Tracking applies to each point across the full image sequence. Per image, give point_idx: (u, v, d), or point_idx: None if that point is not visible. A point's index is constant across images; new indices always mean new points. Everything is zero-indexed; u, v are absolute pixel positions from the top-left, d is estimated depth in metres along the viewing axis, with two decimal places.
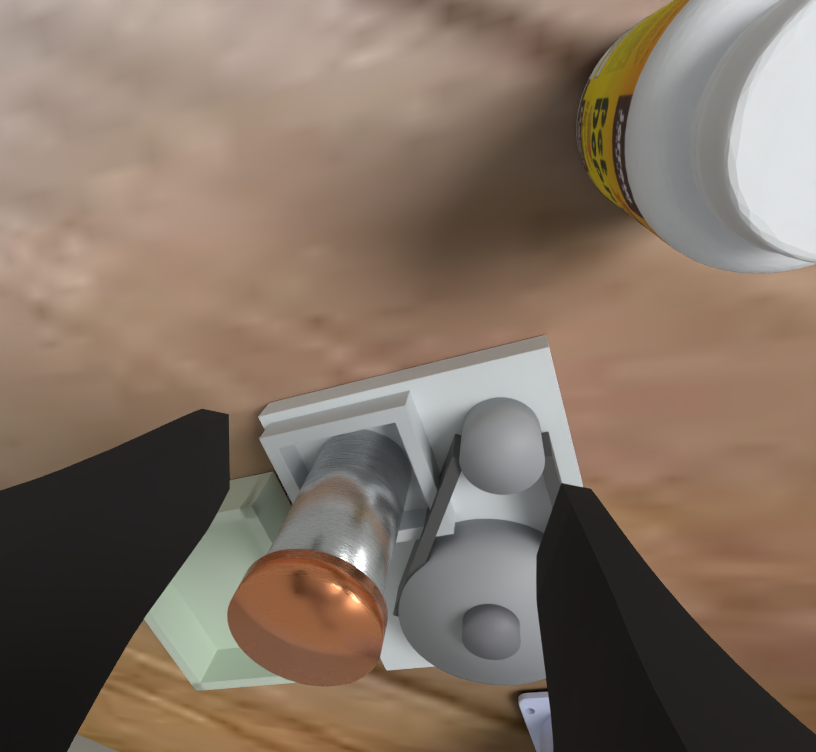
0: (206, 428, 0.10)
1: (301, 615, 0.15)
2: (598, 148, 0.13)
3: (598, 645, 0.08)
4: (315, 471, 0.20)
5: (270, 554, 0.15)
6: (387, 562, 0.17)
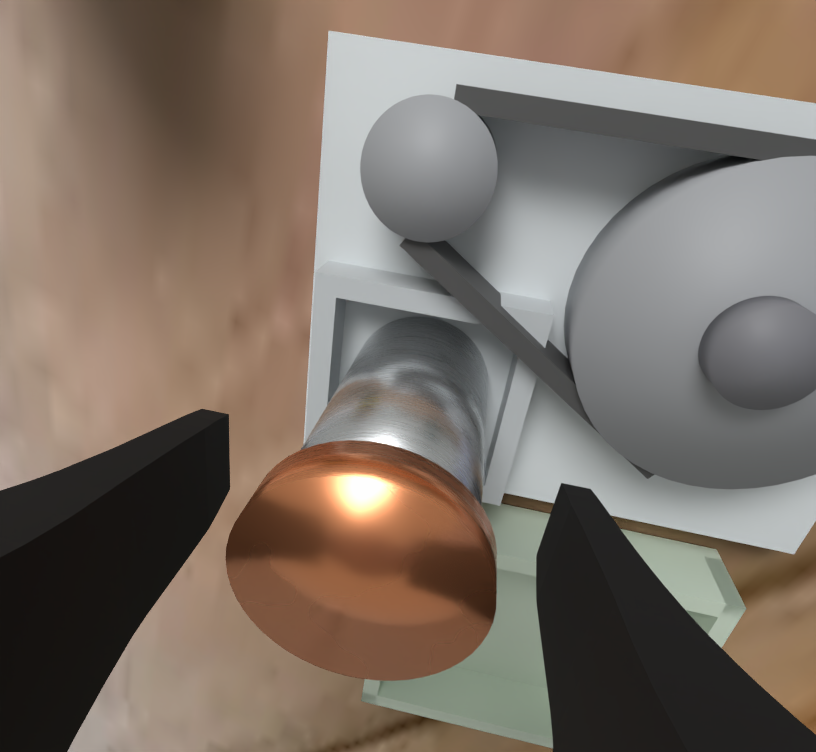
0: (206, 428, 0.10)
1: (314, 568, 0.09)
2: None
3: (598, 645, 0.08)
4: None
5: None
6: (416, 412, 0.10)
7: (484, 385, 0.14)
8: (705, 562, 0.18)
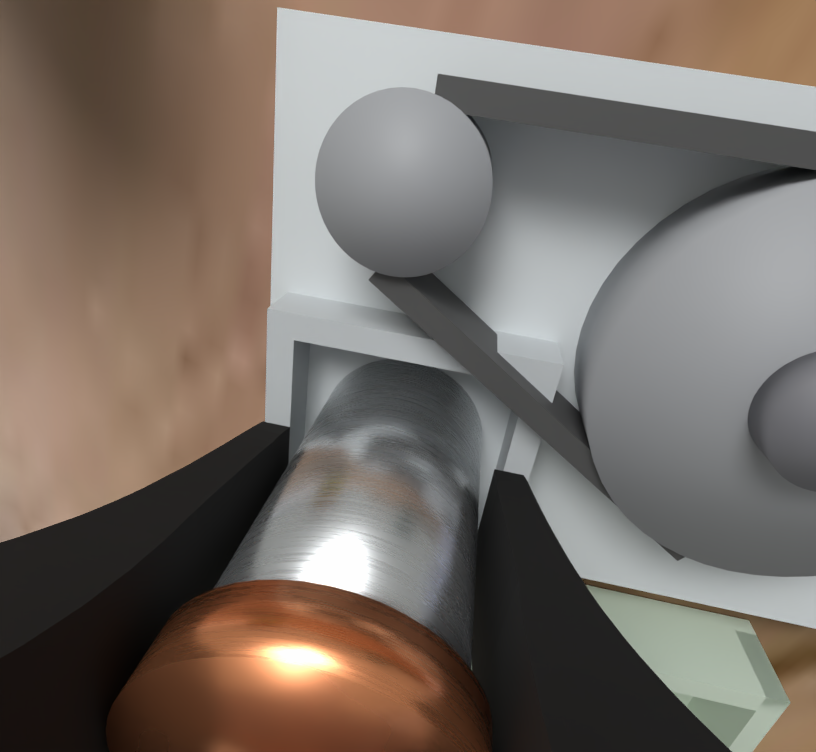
0: (273, 442, 0.10)
1: None
2: None
3: (504, 624, 0.08)
4: None
5: None
6: (383, 513, 0.08)
7: (477, 446, 0.12)
8: (737, 639, 0.15)
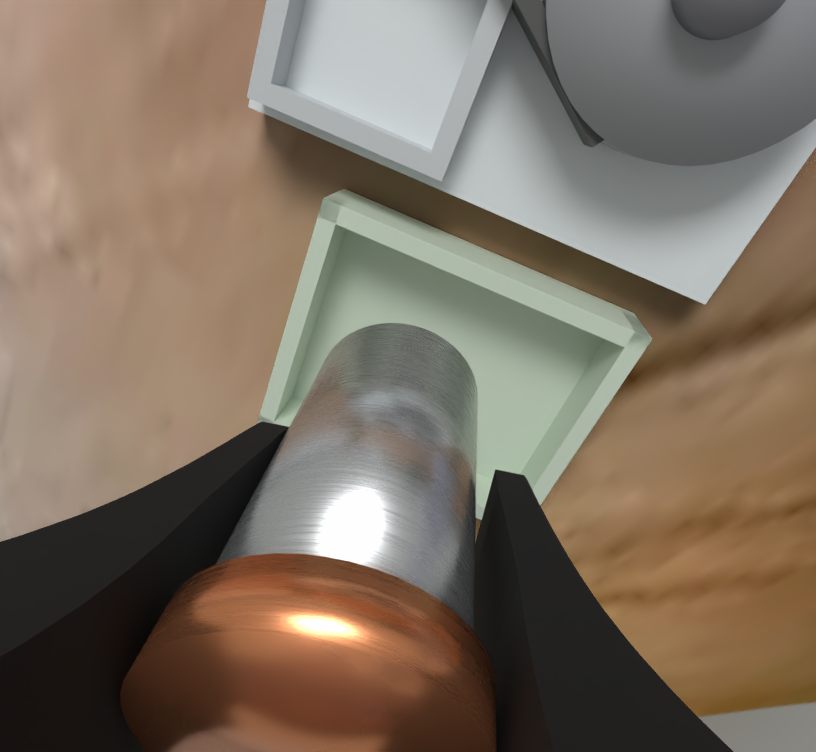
0: (272, 442, 0.10)
1: (243, 728, 0.06)
2: None
3: (505, 624, 0.08)
4: None
5: None
6: (377, 480, 0.08)
7: (472, 405, 0.12)
8: (622, 313, 0.18)
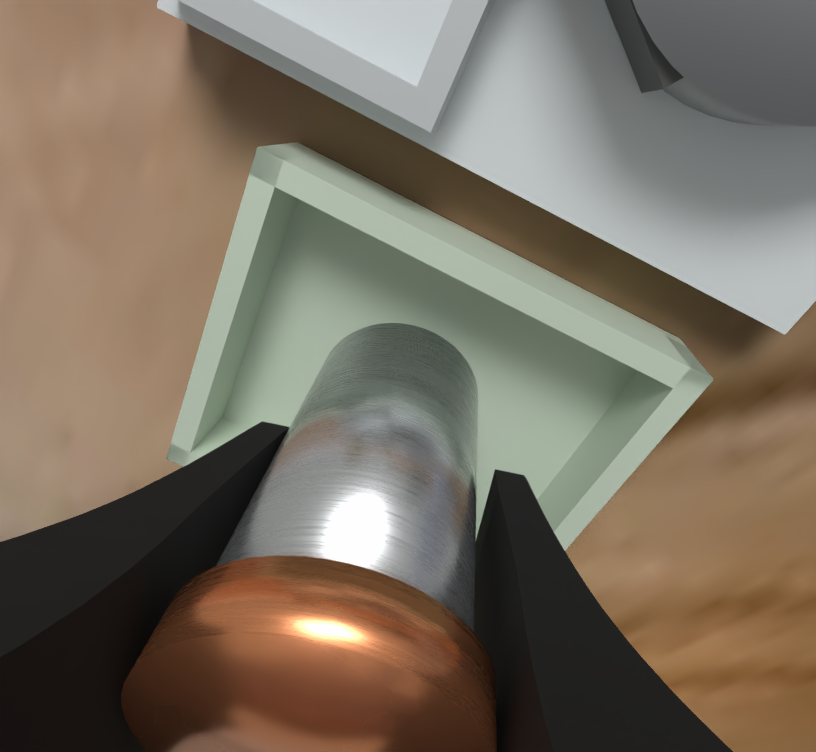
0: (273, 442, 0.10)
1: (243, 730, 0.06)
2: None
3: (505, 624, 0.08)
4: None
5: None
6: (377, 481, 0.08)
7: (473, 405, 0.12)
8: (667, 338, 0.13)
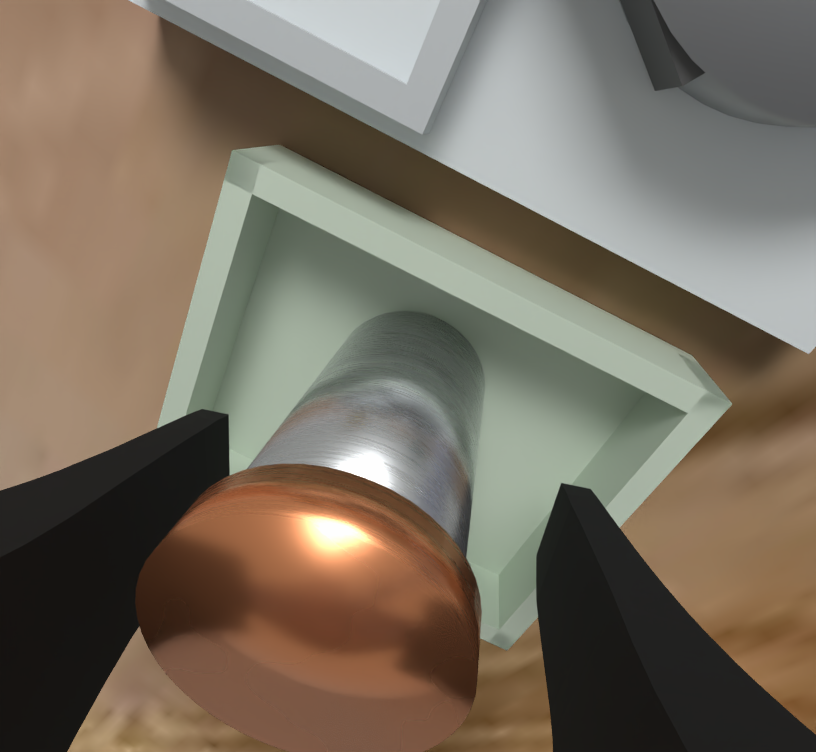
0: (206, 428, 0.10)
1: (243, 629, 0.07)
2: None
3: (598, 645, 0.08)
4: None
5: None
6: (379, 423, 0.08)
7: (478, 387, 0.12)
8: (679, 356, 0.12)
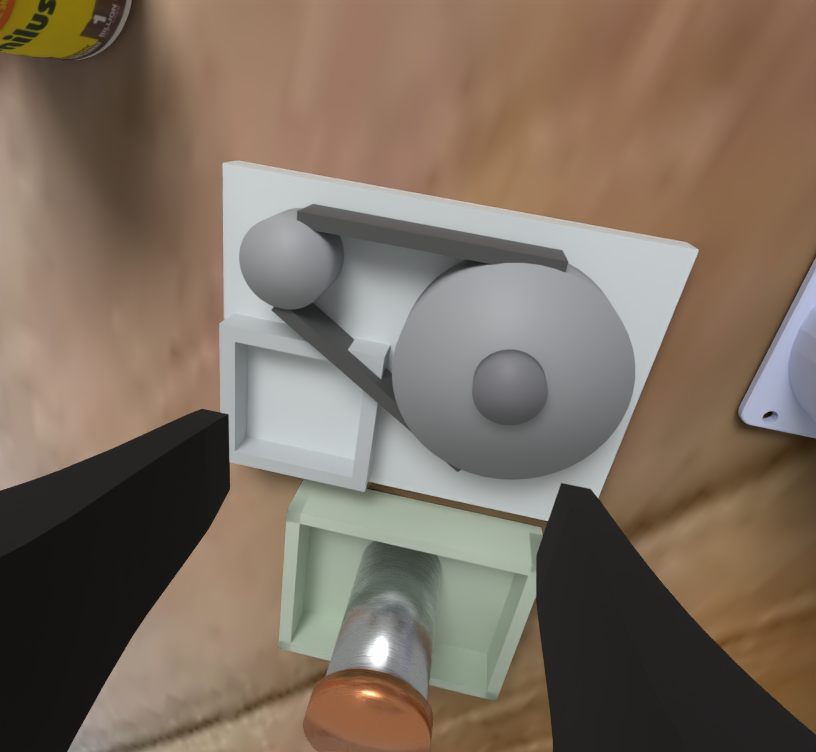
0: (206, 428, 0.10)
1: (343, 733, 0.19)
2: None
3: (598, 645, 0.08)
4: None
5: None
6: (377, 632, 0.20)
7: (430, 573, 0.24)
8: (528, 536, 0.23)
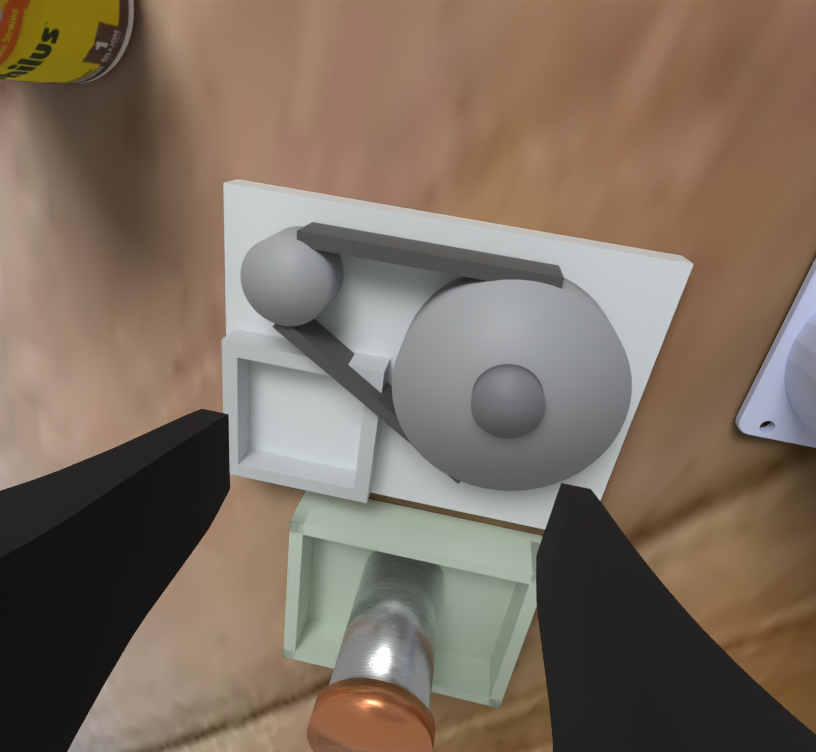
0: (206, 428, 0.10)
1: (347, 741, 0.19)
2: None
3: (598, 645, 0.08)
4: None
5: None
6: (379, 641, 0.21)
7: (432, 581, 0.24)
8: (529, 545, 0.24)
